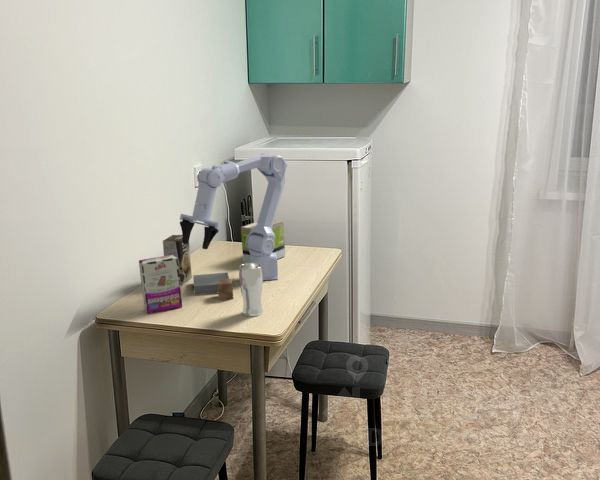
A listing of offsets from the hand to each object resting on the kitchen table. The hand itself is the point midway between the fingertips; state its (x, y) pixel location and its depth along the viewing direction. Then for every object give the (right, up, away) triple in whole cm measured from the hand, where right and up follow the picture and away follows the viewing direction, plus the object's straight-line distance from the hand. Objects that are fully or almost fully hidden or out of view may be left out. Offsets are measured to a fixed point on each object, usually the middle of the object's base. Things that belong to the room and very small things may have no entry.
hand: (194, 246), depth 190 cm
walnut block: (+10, -17, +3) cm, 20 cm away
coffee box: (-9, -13, +20) cm, 25 cm away
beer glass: (+20, -20, -11) cm, 30 cm away
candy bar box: (-9, -20, -6) cm, 22 cm away
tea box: (+20, -6, +43) cm, 48 cm away
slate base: (+4, -14, +12) cm, 19 cm away
